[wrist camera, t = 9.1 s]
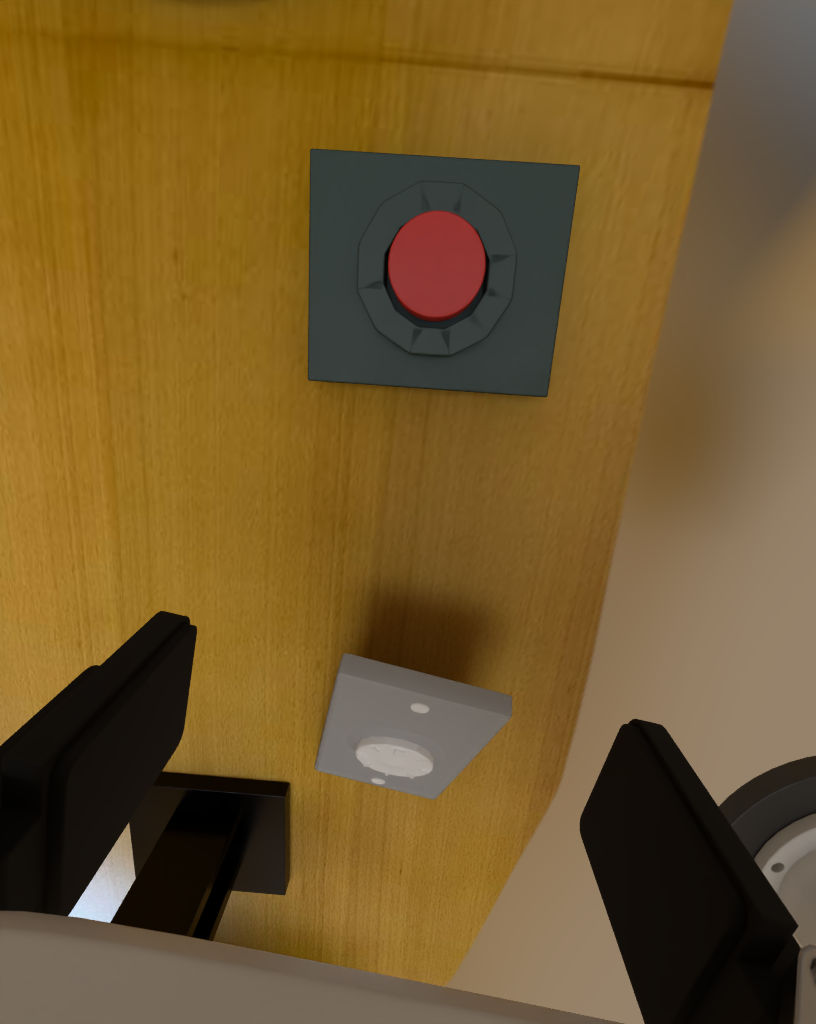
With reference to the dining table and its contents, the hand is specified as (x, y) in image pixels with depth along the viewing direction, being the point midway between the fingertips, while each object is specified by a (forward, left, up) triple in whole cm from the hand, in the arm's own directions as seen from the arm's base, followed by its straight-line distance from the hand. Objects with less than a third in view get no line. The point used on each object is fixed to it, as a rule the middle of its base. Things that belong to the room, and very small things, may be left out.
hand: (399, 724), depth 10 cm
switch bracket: (+6, +28, -19) cm, 34 cm away
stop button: (+3, -11, -15) cm, 19 cm away
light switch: (-3, +13, -19) cm, 23 cm away
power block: (+3, -11, -19) cm, 22 cm away
